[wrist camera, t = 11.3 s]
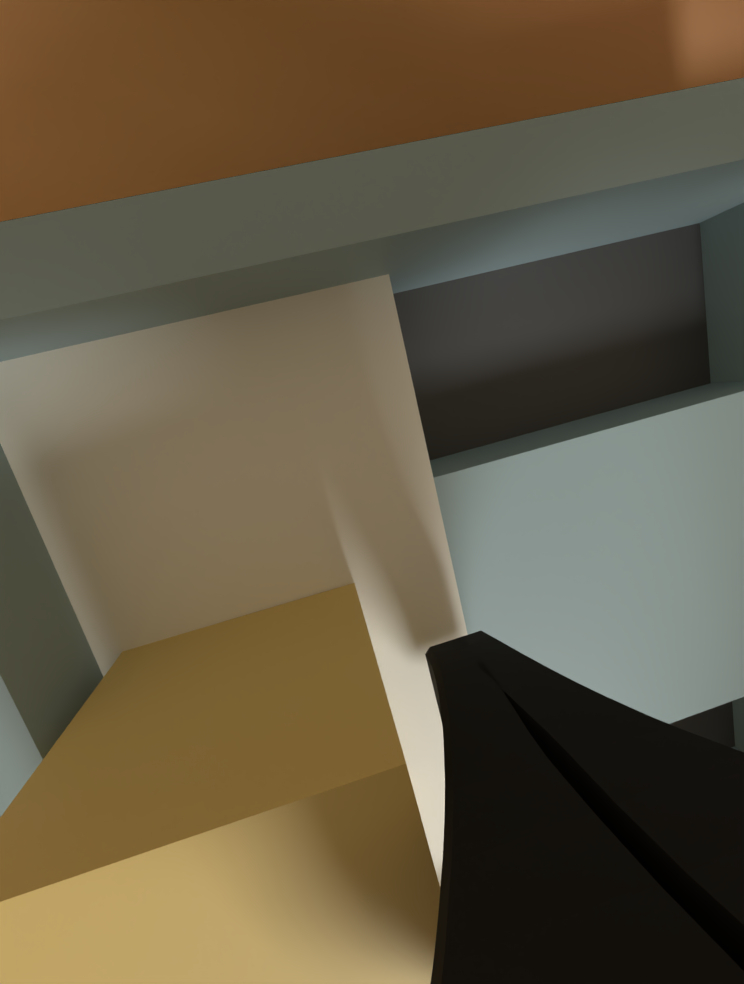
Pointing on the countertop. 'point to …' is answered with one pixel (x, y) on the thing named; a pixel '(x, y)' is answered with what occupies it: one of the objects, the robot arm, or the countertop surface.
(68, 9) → the countertop surface
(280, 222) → the trap tray
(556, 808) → the robot arm
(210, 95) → the countertop surface
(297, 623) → the ochre block
